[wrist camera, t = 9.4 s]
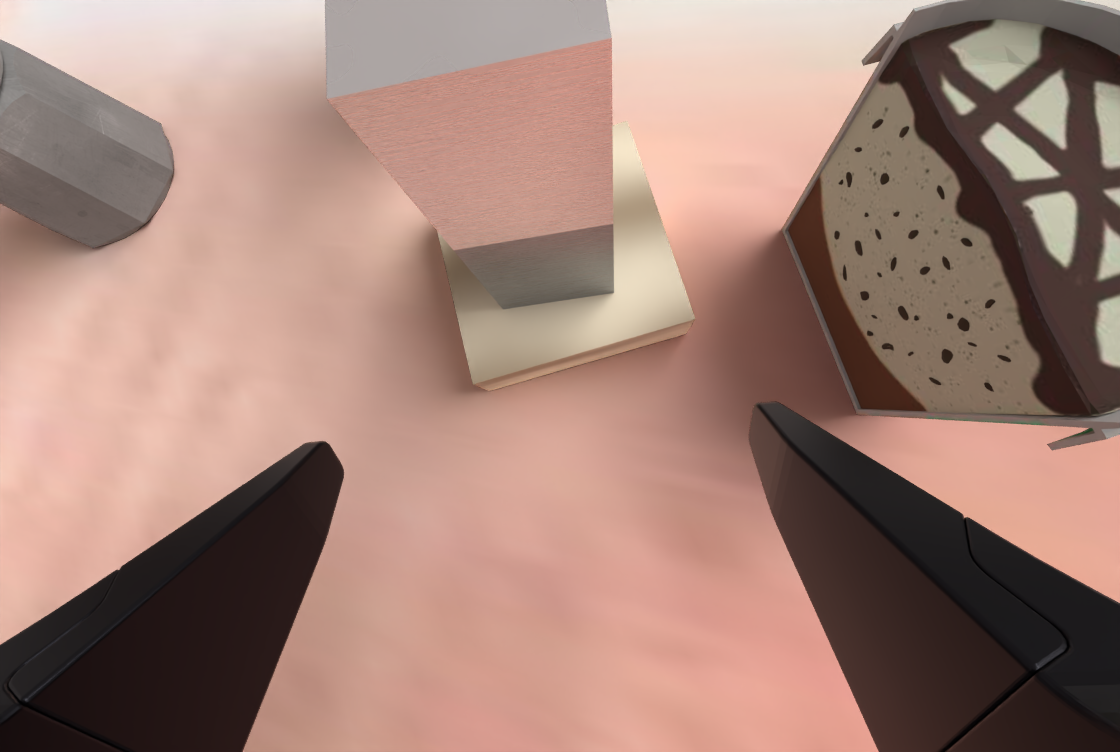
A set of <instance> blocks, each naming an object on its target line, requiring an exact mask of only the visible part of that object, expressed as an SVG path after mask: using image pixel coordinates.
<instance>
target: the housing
mask: <svg viewBox="0 0 1120 752" xmlns="http://www.w3.org/2000/svg"><path fill="white" fill-rule="evenodd" d="M325 31H326V82H327V100H328V101H329V102H330V103H331V105H332V106H333V107H334V108H335V109H336V111H337V112H338V113H339V114H340V115H341V117H342V118H343V119H344V120H345V121H346V122H347V124H348V125H349V126H350V127H351V128H352V130H353V131H354V132H355V133H356V134H357V136H358V137H359V138H360V139H361V140H362V142H363V143H364V144H365V145H366V146H367V148H368V149H369V150H370V151H371V152H372V154H373V155H374V156H375V157H376V158H377V160H378V161H379V162H380V163H381V164H382V165H383V167H384V168H385V169H386V170H387V171H388V173H389V174H390V175H391V176H392V177H393V179H394V180H395V181H396V182H397V183H398V185H399V186H400V187H401V188H402V189H403V191H404V192H405V193H406V194H407V195H408V197H409V198H410V199H411V200H412V201H413V203H414V204H415V205H416V206H417V207H418V208H419V210H420V211H421V212H422V213H423V214H424V216H425V217H426V218H427V219H428V220H429V222H430V223H431V224H432V225H433V226H434V228H435V229H436V230H437V231H438V232H439V234H440V235H441V236H442V237H443V238H444V240H445V241H446V242H447V243H448V244H449V246H450V247H451V248H452V249H453V250H454V251H455V253H456V254H457V255H458V256H459V257H460V259H461V260H462V261H463V262H464V263H465V265H466V266H467V267H468V268H469V269H470V271H471V272H472V273H473V274H474V275H475V277H476V278H477V279H478V280H479V281H480V283H481V284H482V285H483V286H484V287H485V289H486V290H487V291H488V292H489V293H490V294H491V296H492V297H493V298H494V299H495V300H496V302H497V303H498V304H499V305H500V306H501V308H502V309H510V308H516V307H523V306H530V305H536V304H543V303H550V302H556V301H563V300H570V299H576V298H583V297H590V296H596V295H603V294H610V293H614V234H613V134H612V38H611V31H610V25H609V18H608V12H607V5H606V0H325Z"/></svg>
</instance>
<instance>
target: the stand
mask: <svg viewBox="0 0 1120 752" xmlns="http://www.w3.org/2000/svg"><path fill="white" fill-rule="evenodd" d="M612 134H613V234H614V293H610V294H603V295H596V296H590V297H583V298H576V299H570V300H563V301H556V302H550V303H543V304H536V305H530V306H523V307H516V308H510V309H502V308H501V306H500V305H499V304H498V303H497V302H496V300H495V299H494V298H493V297H492V296H491V294H490V293H489V292H488V291H487V290H486V289H485V287H484V286H483V285H482V284H481V283H480V281H479V280H478V279H477V278H476V277H475V275H474V274H473V273H472V272H471V271H470V269H469V268H468V267H467V266H466V265H465V263H464V262H463V261H462V260H461V259H460V257H459V256H458V255H457V254H456V253H455V251H454V250H453V249H452V248H451V247H450V246H449V244H448V243H447V242H446V241H445V240H444V238H443V237H442V236H441V235H440V234H439V232H438V231H437V233H438V237H439V242H440V246H441V250H442V254H443V259H444V263H445V267H446V272H447V276H448V280H449V284H450V289H451V293H452V297H453V302H454V306H455V310H456V314H457V319H458V323H459V327H460V332H461V336H462V340H463V344H464V349H465V353H466V357H467V362H468V366H469V370H470V374H471V379H472V383H473V385H475V386H478V387H480V388H483V389H485V390H487V391H492V390H495V389H499V388H502V387H505V386H509V385H512V384H516V383H519V382H523V381H526V380H529V379H533V378H536V377H540V376H543V375H547V374H550V373H554V372H557V371H560V370H564V369H567V368H571V367H574V366H578V365H581V364H584V363H588V362H591V361H595V360H598V359H602V358H605V357H609V356H612V355H615V354H619V353H622V352H626V351H629V350H633V349H636V348H639V347H643V346H646V345H650V344H653V343H657V342H660V341H663V340H667V339H670V338H674V337H677V336H681V335H684V334H686V333H687V332H688V330H689V328H690V327H691V325H692V324H693V322H694V321H695V316H694V313H693V310H692V308H691V305H690V302H689V299H688V296H687V293H686V290H685V287H684V284H683V281H682V278H681V276H680V273H679V270H678V267H677V264H676V261H675V258H674V255H673V252H672V249H671V246H670V244H669V241H668V238H667V235H666V232H665V229H664V226H663V223H662V220H661V217H660V215H659V212H658V209H657V206H656V203H655V200H654V197H653V194H652V191H651V188H650V185H649V183H648V180H647V177H646V174H645V171H644V168H643V165H642V162H641V159H640V156H639V153H638V151H637V148H636V145H635V142H634V139H633V136H632V133H631V130H630V127H629V124H628V122H627V121H625V122H622V123H619V124H616V125H613V126H612Z"/></svg>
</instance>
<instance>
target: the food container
mask: <svg viewBox="0 0 1120 752" xmlns="http://www.w3.org/2000/svg"><path fill="white" fill-rule="evenodd" d="M879 61H880V62H879ZM875 62H879V64H878V66H877V67H876V69H875V71H874V73H873V74H872V76H871V78H870V79H869V81H868V83H867V84H866V86H865V88H864V90H863V91H862V93H861V95H860V96H859V98H858V100H857V102H856V103H855V105H854V107H853V108H852V110H851V112H850V113H849V115H848V117H847V119H846V120H845V122H844V124H843V125H842V127H841V129H840V131H839V132H838V134H837V136H836V137H835V139H834V141H833V142H832V144H831V146H830V148H829V149H828V151H827V153H826V154H825V156H824V158H823V160H822V161H821V163H820V165H819V166H818V168H817V170H816V171H815V173H814V175H813V177H812V178H811V180H810V182H809V183H808V185H807V187H806V188H805V190H804V192H803V194H802V195H801V197H800V199H799V200H798V202H797V204H796V206H795V207H794V209H793V211H792V212H791V214H790V216H789V217H788V219H787V221H786V223H785V224H784V226H783V228H782V232H783V234H784V237H785V239H786V242H787V244H788V246H789V249H790V251H791V254H792V256H793V259H794V261H795V264H796V266H797V269H798V271H799V273H800V276H801V278H802V281H803V283H804V286H805V288H806V291H807V293H808V295H809V298H810V300H811V303H812V305H813V308H814V310H815V313H816V315H817V318H818V320H819V322H820V325H821V327H822V330H823V332H824V335H825V337H826V340H827V342H828V345H829V347H830V349H831V352H832V354H833V357H834V359H835V362H836V364H837V367H838V369H839V372H840V374H841V376H842V379H843V381H844V384H845V386H846V389H847V391H848V394H849V396H850V398H851V401H852V403H853V406H854V408H855V411H856V413H857V415H871V416H889V417H906V418H924V419H942V420H959V421H977V422H994V423H1012V424H1030V425H1047V426H1065V427H1082V428H1089V429H1087V430H1085V431H1083V432H1081V433H1078V434H1075V435H1072V436H1069V437H1067V438H1064V439H1061V440H1058V441H1055V442H1052V443H1049V444H1047V445H1048V446H1049V447H1050V449H1051V450H1056V449H1061V448H1066V447H1070V446H1075V445H1080V444H1085V443H1090V442H1095V441H1100V440H1105V439H1108V438H1111V437H1114V436H1117V435H1120V11H1118V10H1115V9H1113V8H1110V7H1107V6H1104V5H1099V4H1095V3H1090V2H1085V1H1081V0H945V1H941V2H937V3H934V4H930V5H926V6H922V7H919V8H915V9H913V11H912V12H911V13H910V15H909V16H908V17H907V19H906V20H905V21H904V22H902V23H898V24H894V25H893V26H892V27H891V28H890V30H889V31H888V32H887V33H886V34H885V35H884V36H883V37H882V39H881V40H880V41H879V42H878V43H877V44H876V45H875V46H874V48H873V49H872V50H871V51H870V52H869V53H868V54H867V55H866V56H865V58H864V59H863V60H862V63H863V65H867V64H871V63H875Z"/></svg>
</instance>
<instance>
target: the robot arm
mask: <svg viewBox="0 0 1120 752" xmlns="http://www.w3.org/2000/svg"><path fill="white" fill-rule="evenodd" d="M749 443H750V447H751V450H752V453H753V456H754V459H755V463H756V466H757V469H758V472H759V475H760V479H761V482H762V485H763V488H764V491H765V494H766V498H767V501H768V504H769V507H770V510H771V513H772V515H773V517H774V520H775V522H776V525H777V527H778V529H779V531H780V534H781V536H782V538H783V540H784V542H785V545H786V547H787V549H788V551H789V554H790V556H791V558H792V560H793V562H794V565H795V567H796V569H797V571H798V573H799V576H800V578H801V580H802V582H803V585H804V587H805V589H806V591H807V593H808V596H809V598H810V600H811V602H812V605H813V607H814V609H815V611H816V613H817V616H818V618H819V620H820V622H821V625H822V627H823V629H824V631H825V633H826V636H827V638H828V640H829V642H830V645H831V647H832V649H833V651H834V653H835V656H836V658H837V660H838V662H839V665H840V667H841V669H842V671H843V673H844V676H845V678H846V680H847V682H848V684H849V687H850V689H851V691H852V693H853V696H854V698H855V700H856V702H857V704H858V707H859V709H860V711H861V713H862V716H863V718H864V720H865V722H866V724H867V727H868V729H869V731H870V733H871V736H872V738H873V740H874V742H875V744H876V747H877V749H878V751H879V752H1120V603H1118V602H1116V601H1115V600H1113V599H1111V598H1109V597H1107V596H1105V595H1103V594H1101V593H1100V592H1098V591H1096V590H1094V589H1092V588H1090V587H1089V586H1087V585H1085V584H1083V583H1081V582H1079V581H1078V580H1076V579H1074V578H1072V577H1070V576H1069V575H1067V574H1065V573H1063V572H1061V571H1059V570H1058V569H1056V568H1054V567H1052V566H1050V565H1049V564H1047V563H1045V562H1043V561H1041V560H1039V559H1038V558H1036V557H1034V556H1033V555H1031V554H1029V553H1028V552H1026V551H1024V550H1022V549H1021V548H1019V547H1017V546H1016V545H1014V544H1012V543H1010V542H1009V541H1007V540H1005V539H1004V538H1002V537H1000V536H999V535H997V534H995V533H993V532H992V531H990V530H989V529H987V528H985V527H984V526H982V525H980V524H979V523H977V522H975V521H974V520H972V519H970V518H968V517H966V518H964V516H963V514H962V513H960V512H959V511H957V510H955V509H954V508H952V507H950V506H949V505H947V504H945V503H944V502H942V501H940V500H939V499H937V498H936V497H934V496H932V495H931V494H929V493H927V492H926V491H924V490H922V489H921V488H919V487H917V486H916V485H914V484H912V483H911V482H909V481H908V480H906V479H904V478H903V477H901V476H899V475H898V474H896V473H894V472H893V471H891V470H889V469H888V468H886V467H884V466H883V465H881V464H880V463H878V462H876V461H875V460H873V459H871V458H870V457H868V456H866V455H865V454H863V453H861V452H860V451H858V450H856V449H855V448H853V447H852V446H850V445H848V444H847V443H845V442H843V441H842V440H840V439H838V438H837V437H835V436H833V435H832V434H830V433H828V432H827V431H825V430H824V429H822V428H820V427H819V426H817V425H815V424H814V423H812V422H810V421H809V420H807V419H805V418H804V417H802V416H800V415H799V414H797V413H796V412H794V411H792V410H791V409H789V408H787V407H786V406H784V405H782V404H781V403H779V402H776V401H772V402H760V403H756V404H755V405H754V407H753V410H752V417H751V423H750V429H749ZM343 478H344V469H343V466H342V464H341V463H340V461H339V459H338V458H337V456H336V454H335V453H334V451H333V449H332V448H331V446H330V445H329V444H328V443H327V442H324V441H318V442H308V443H305V444H303V445H302V446H300V447H299V448H297V449H296V450H294V451H293V452H291V453H290V454H288V455H287V456H285V457H284V458H282V459H281V460H279V461H278V462H276V463H275V464H273V465H272V466H270V467H269V468H267V469H266V470H264V471H263V472H261V473H260V474H258V475H257V476H255V477H254V478H253V479H251V480H250V481H248V482H247V483H245V484H244V485H242V486H241V487H239V488H238V489H236V490H235V491H233V492H232V493H230V494H229V495H227V496H226V497H224V498H223V499H221V500H220V501H218V502H217V503H215V504H214V505H212V506H211V507H209V508H208V509H206V510H205V511H203V512H202V513H200V514H199V515H197V516H196V517H194V518H193V519H191V520H190V521H188V522H187V523H185V524H184V525H182V526H181V527H180V528H178V529H177V530H175V531H174V532H172V533H171V534H169V535H168V536H166V537H165V538H163V539H162V540H160V541H159V542H157V543H156V544H154V545H153V546H151V547H150V548H148V549H147V550H145V551H144V552H142V553H141V554H139V555H138V556H136V557H135V558H133V559H132V560H130V561H129V562H127V563H126V564H124V565H123V566H122V567H121V568H120V570H115V571H114V572H112V573H111V574H109V575H108V576H106V577H105V578H103V579H102V580H100V581H99V582H97V583H96V584H94V585H93V586H91V587H90V588H88V589H87V590H85V591H84V592H82V593H81V594H79V595H78V596H76V597H75V598H73V599H72V600H70V601H69V602H67V603H66V604H64V605H63V606H61V607H59V608H58V609H56V610H55V611H53V612H52V613H50V614H49V615H47V616H45V617H44V618H42V619H41V620H39V621H37V622H36V623H34V624H33V625H31V626H30V627H28V628H26V629H25V630H23V631H22V632H20V633H18V634H17V635H15V636H14V637H12V638H10V639H9V640H7V641H6V642H4V643H2V644H1V645H0V752H243V749H244V747H245V744H246V742H247V739H248V737H249V734H250V732H251V729H252V727H253V724H254V722H255V719H256V717H257V714H258V711H259V709H260V706H261V704H262V701H263V699H264V696H265V694H266V691H267V689H268V686H269V684H270V681H271V679H272V676H273V674H274V671H275V669H276V666H277V663H278V661H279V658H280V656H281V653H282V651H283V648H284V646H285V643H286V641H287V638H288V636H289V633H290V631H291V628H292V626H293V623H294V620H295V618H296V615H297V613H298V610H299V608H300V605H301V603H302V600H303V598H304V595H305V593H306V590H307V588H308V585H309V583H310V580H311V578H312V575H313V572H314V570H315V567H316V565H317V562H318V560H319V557H320V555H321V552H322V549H323V547H324V544H325V541H326V538H327V535H328V532H329V528H330V524H331V521H332V517H333V514H334V510H335V507H336V503H337V500H338V496H339V493H340V489H341V486H342V482H343Z"/></svg>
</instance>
